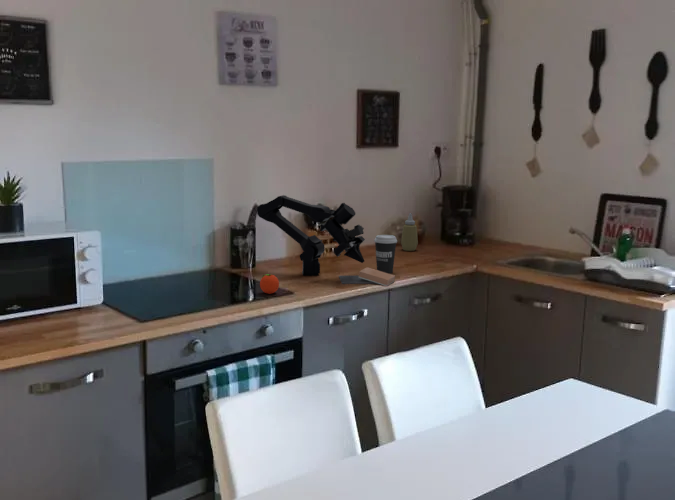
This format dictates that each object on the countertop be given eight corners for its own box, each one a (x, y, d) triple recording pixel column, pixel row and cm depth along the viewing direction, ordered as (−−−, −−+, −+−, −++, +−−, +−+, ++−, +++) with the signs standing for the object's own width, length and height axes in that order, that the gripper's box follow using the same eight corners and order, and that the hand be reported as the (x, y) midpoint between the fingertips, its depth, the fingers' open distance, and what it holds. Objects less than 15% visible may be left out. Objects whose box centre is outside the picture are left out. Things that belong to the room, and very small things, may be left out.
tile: (359, 271, 270) (388, 280, 266) (367, 267, 277) (395, 275, 273) (358, 277, 271) (386, 286, 266) (366, 273, 278) (394, 281, 274)
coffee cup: (369, 270, 293) (370, 235, 290) (390, 269, 296) (391, 234, 293) (378, 275, 284) (379, 238, 281) (400, 273, 287) (401, 237, 284)
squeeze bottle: (398, 249, 341) (399, 212, 338) (413, 248, 344) (414, 211, 340) (404, 252, 334) (405, 214, 330) (420, 251, 336) (421, 214, 333)
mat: (341, 283, 268) (341, 282, 268) (338, 276, 280) (338, 275, 280) (378, 283, 270) (378, 282, 270) (373, 276, 281) (373, 275, 281)
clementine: (254, 292, 253) (253, 273, 252) (269, 289, 258) (269, 270, 257) (268, 296, 248) (268, 277, 246) (283, 293, 252) (283, 274, 251)
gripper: (341, 221, 264) (368, 253, 262) (360, 215, 281) (385, 245, 278) (322, 240, 269) (348, 271, 266) (342, 233, 285) (367, 262, 283)
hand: (363, 262), depth 273 cm, fingers closed
